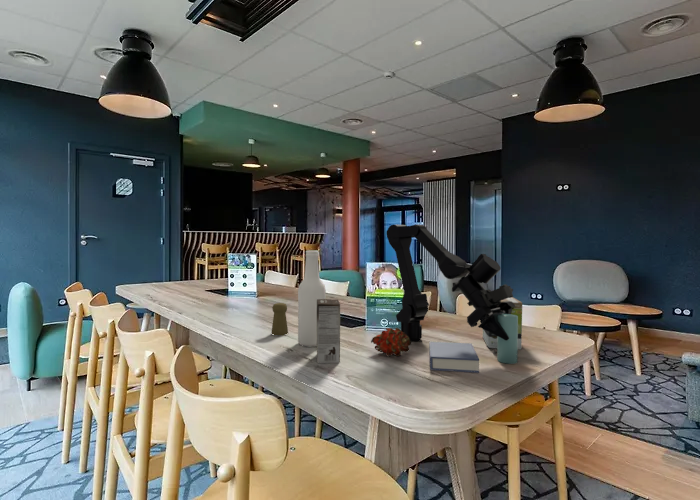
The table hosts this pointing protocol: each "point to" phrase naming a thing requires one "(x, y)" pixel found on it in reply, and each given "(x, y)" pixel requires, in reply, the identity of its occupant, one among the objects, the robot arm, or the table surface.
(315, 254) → the alcohol
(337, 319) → the coffee box
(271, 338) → the table surface
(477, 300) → the robot arm
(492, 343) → the tea box
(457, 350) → the book
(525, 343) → the table surface
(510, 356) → the teal smooth upright cylinder
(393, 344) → the dragon fruit
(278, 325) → the cork
